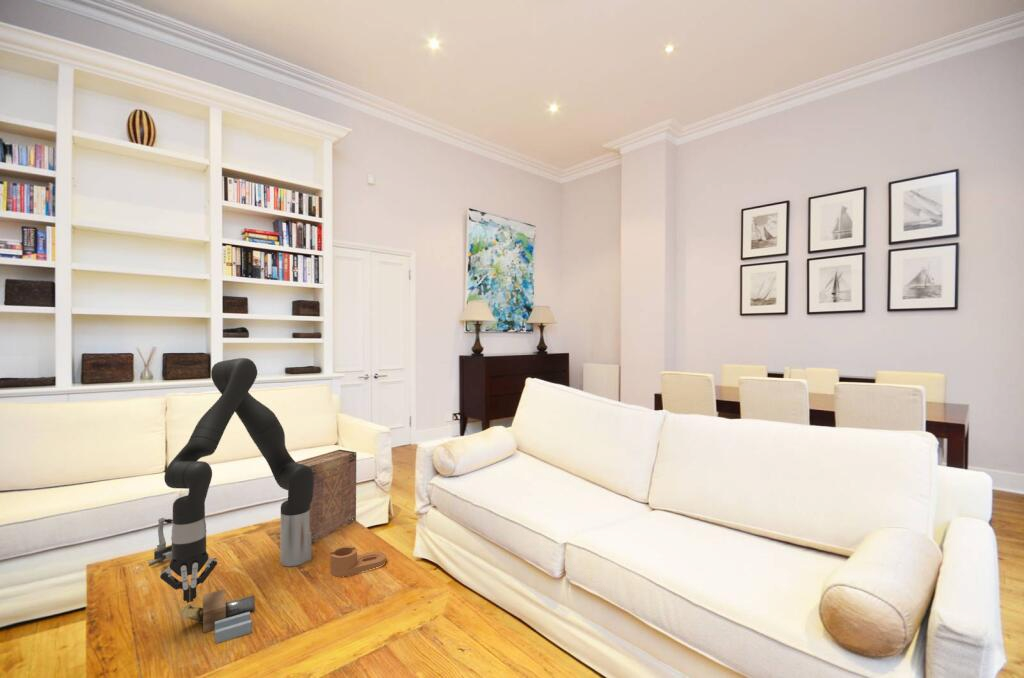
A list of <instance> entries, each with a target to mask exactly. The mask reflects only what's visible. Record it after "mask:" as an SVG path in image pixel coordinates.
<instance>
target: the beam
mask: <svg viewBox="0 0 1024 678" xmlns="http://www.w3.org/2000/svg"><path fill="white" fill-rule="evenodd" d="M225 602H226V596H225V589H220V590H216V591H212V592H208V593H204V594H202V608H203V623H202V632H203V633H207V632H211V631H215V621H219V620H222V619H226V618H227V617H226V604H225Z"/></svg>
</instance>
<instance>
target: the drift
mask: <svg viewBox="0 0 1024 678" xmlns="http://www.w3.org/2000/svg"><path fill="white" fill-rule="evenodd" d="M180 617H182V618H184V619H188V620H191V621H195V622H199V623H202V624H203V607H200V606H197V605H193V604H189V603H186V605H185V606H184V607H183V608H182V610H181V612H180Z"/></svg>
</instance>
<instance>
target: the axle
mask: <svg viewBox="0 0 1024 678" xmlns="http://www.w3.org/2000/svg"><path fill="white" fill-rule="evenodd" d="M225 604H226V618H229V617H233V616H236V615H240V614H243V613H246V612H252V611H255V607H256V606H255V605H256V604H255V595H254V594H253V595H249V596H245V597H242V598H241V597H240V598H238V599H233V600H229V601H225Z"/></svg>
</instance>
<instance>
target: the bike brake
mask: <svg viewBox="0 0 1024 678" xmlns="http://www.w3.org/2000/svg"><path fill="white" fill-rule="evenodd" d="M157 521H158V525H157V536H158V545H156V548H154V549H153V551H154V552H153V555H154V559H152V560H149V561H148V562H147V563H148V565H152V564H154V563H157V562H161V563H163V562H165V561H167V560H170V559H172V544H171V545H169V546H167V542H166V538H165V535H164V523H167V524H172V525H173V518H166V517H161V518H159V519H157ZM169 566H170V565H167V566H166V569H167V568H168V567H169Z"/></svg>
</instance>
